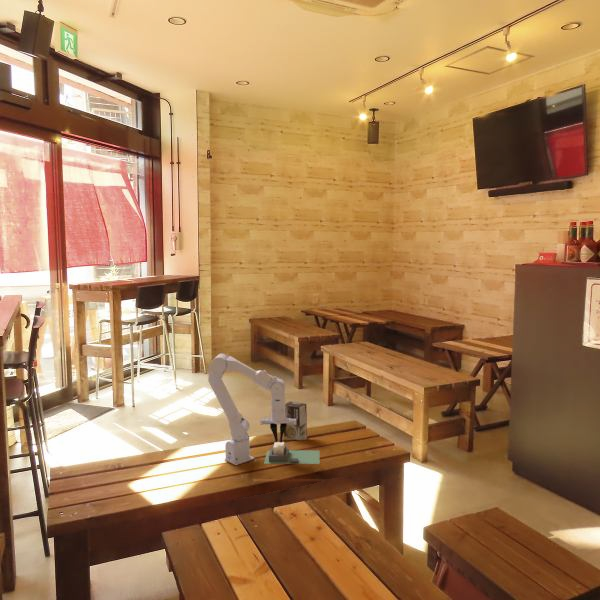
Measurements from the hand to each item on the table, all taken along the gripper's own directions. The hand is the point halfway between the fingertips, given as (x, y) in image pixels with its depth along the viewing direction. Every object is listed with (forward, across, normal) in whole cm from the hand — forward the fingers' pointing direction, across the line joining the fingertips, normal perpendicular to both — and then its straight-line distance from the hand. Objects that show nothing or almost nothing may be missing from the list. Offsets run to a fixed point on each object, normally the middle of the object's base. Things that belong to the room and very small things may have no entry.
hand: (278, 441), depth 202 cm
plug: (+6, 0, 0) cm, 6 cm away
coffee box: (+8, +6, +24) cm, 26 cm away
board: (+7, +6, 0) cm, 9 cm away
